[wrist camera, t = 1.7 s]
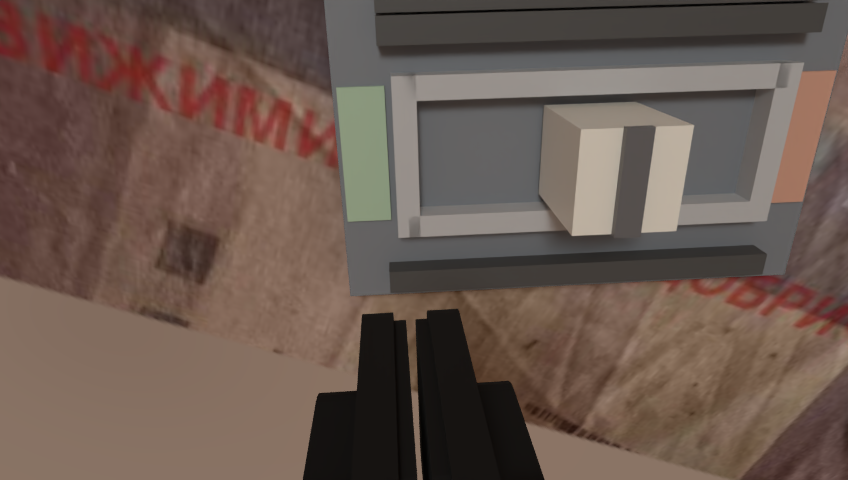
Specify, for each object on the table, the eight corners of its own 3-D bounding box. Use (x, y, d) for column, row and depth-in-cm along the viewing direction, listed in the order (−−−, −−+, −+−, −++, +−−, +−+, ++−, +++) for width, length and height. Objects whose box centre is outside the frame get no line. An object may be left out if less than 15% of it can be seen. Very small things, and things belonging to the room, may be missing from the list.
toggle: (635, 100, 24) (698, 125, 19) (624, 191, 25) (680, 235, 20) (544, 103, 24) (584, 129, 19) (538, 194, 25) (574, 240, 20)
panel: (828, -30, 24) (888, -34, 21) (759, 257, 30) (800, 285, 27) (327, -16, 23) (318, -19, 20) (353, 277, 29) (348, 308, 26)
